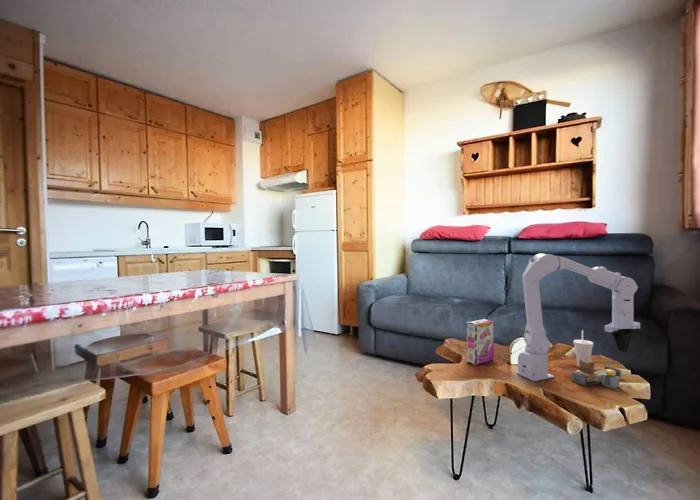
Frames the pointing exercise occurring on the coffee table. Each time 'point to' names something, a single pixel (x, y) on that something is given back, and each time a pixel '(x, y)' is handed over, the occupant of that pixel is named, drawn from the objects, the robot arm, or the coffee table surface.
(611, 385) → the post
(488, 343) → the candy bar box
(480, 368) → the coffee table surface
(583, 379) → the rail
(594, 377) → the carriage
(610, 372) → the gauge button
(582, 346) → the smoothie
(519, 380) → the coffee table surface
